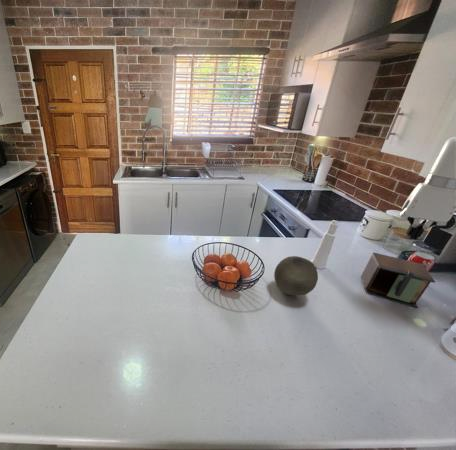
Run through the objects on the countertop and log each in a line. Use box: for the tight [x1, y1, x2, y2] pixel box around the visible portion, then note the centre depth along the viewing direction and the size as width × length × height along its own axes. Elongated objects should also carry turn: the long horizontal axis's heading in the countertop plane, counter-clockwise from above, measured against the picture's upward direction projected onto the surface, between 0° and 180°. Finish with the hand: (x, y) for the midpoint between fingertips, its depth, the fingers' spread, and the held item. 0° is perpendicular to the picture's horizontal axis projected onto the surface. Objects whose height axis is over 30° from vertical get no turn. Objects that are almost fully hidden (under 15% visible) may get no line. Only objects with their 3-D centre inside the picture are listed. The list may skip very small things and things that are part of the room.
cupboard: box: [360, 252, 436, 309], centre depth 94 cm, size 15×12×12 cm
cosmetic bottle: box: [310, 219, 340, 270], centre depth 106 cm, size 6×6×22 cm
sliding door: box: [387, 271, 424, 303], centre depth 87 cm, size 6×4×13 cm, turn 61°
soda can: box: [406, 251, 436, 273], centre depth 101 cm, size 7×7×12 cm
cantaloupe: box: [273, 255, 319, 297], centre depth 90 cm, size 14×14×15 cm
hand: (411, 237), depth 79 cm, fingers closed
